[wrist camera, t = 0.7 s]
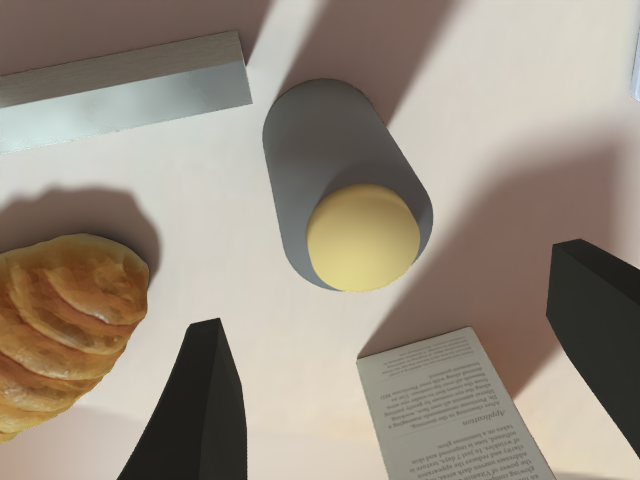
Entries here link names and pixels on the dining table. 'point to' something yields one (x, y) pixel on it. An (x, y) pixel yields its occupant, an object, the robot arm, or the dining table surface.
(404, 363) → the small box
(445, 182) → the dining table surface
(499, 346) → the dining table surface
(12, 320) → the pastry
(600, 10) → the dining table surface
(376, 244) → the grey canister
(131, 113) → the metal brackets
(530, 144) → the dining table surface
